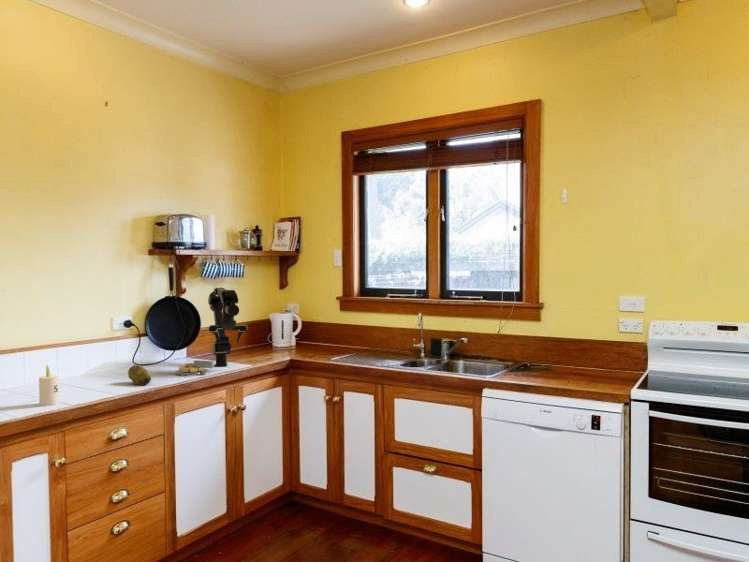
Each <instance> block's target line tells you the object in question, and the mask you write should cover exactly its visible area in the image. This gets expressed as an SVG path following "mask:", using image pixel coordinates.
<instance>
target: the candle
mask: <svg viewBox="0 0 749 562" xmlns="http://www.w3.org/2000/svg"><path fill="white" fill-rule="evenodd" d="M45 369H46V370H45V372H46V373H45V374H46V375H42V376H39V378H38V389H39V391H38V395H39V396H38V397H39V399H38V400H39V407H40V406H41V407H49V406H56V405H58V404H59V376H58V375H56V374H55V375H53V374H52V375H51V372H50V367H49V366H48V365H45Z"/></svg>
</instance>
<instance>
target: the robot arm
mask: <svg viewBox="0 0 749 562" xmlns="http://www.w3.org/2000/svg"><path fill="white" fill-rule="evenodd" d="M207 303H208V305H209V309H210V310H211V311H212V312H213V317H214V318H213V320H214V324H210V325H209V327H208V332H211V334H213V335H214V336H215V339H214V342H213V345H212V349H211V354H212V355H214V356H215V363H214V367H227V366H228V365H229V363H228V361H227V360H228V358H227V356H228V355H230V354H231V349H232V344H231V342H230V337H229V336H227V335H226V331H232V330H233V331H234V330H235V331H237V333H238V334H237V340H236V341H237V342H236V345H239V342H240V339H241V337H242V335H243V334H244V333H245V332H247V331H248V325H247V324H239V325H237V320H235V317H236V316H237V315H239V313H240V308H239V306H238V305H236V304H239V297H238V293H237V292H236V290H235V289H225V288H224V287H215V288H214V289H213V291H212V292H210V293H209V295H208V300H207ZM227 364H228V365H227ZM226 365H227V366H226Z"/></svg>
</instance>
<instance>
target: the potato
mask: <svg viewBox="0 0 749 562" xmlns="http://www.w3.org/2000/svg"><path fill="white" fill-rule="evenodd" d="M127 375H128V378H129V379H130V380H131V381H132V383H133V384H134V385H136V384H137V386H146V385H148V384H149V383H150V382H151V380H152V377H151V374H150V373H149V371H148V370H147V369H146V368H145V367H143V366H142V365H139V364H135V365H133V366H131V367H129V369H128V372H127Z"/></svg>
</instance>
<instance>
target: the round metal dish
mask: <svg viewBox="0 0 749 562" xmlns="http://www.w3.org/2000/svg"><path fill="white" fill-rule="evenodd" d="M188 368H195V367H188ZM206 372H207V373H208V368H204V370H201V371H197V372H182V371H181V372H180V371H179V369H177V370H175V373H174V374H175V375H176V376H178V375H183V376H182V377H188V376H187V375H197V376H200V375H199V374H203V375H205V374H204V373H206ZM207 373H206V374H207Z"/></svg>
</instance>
